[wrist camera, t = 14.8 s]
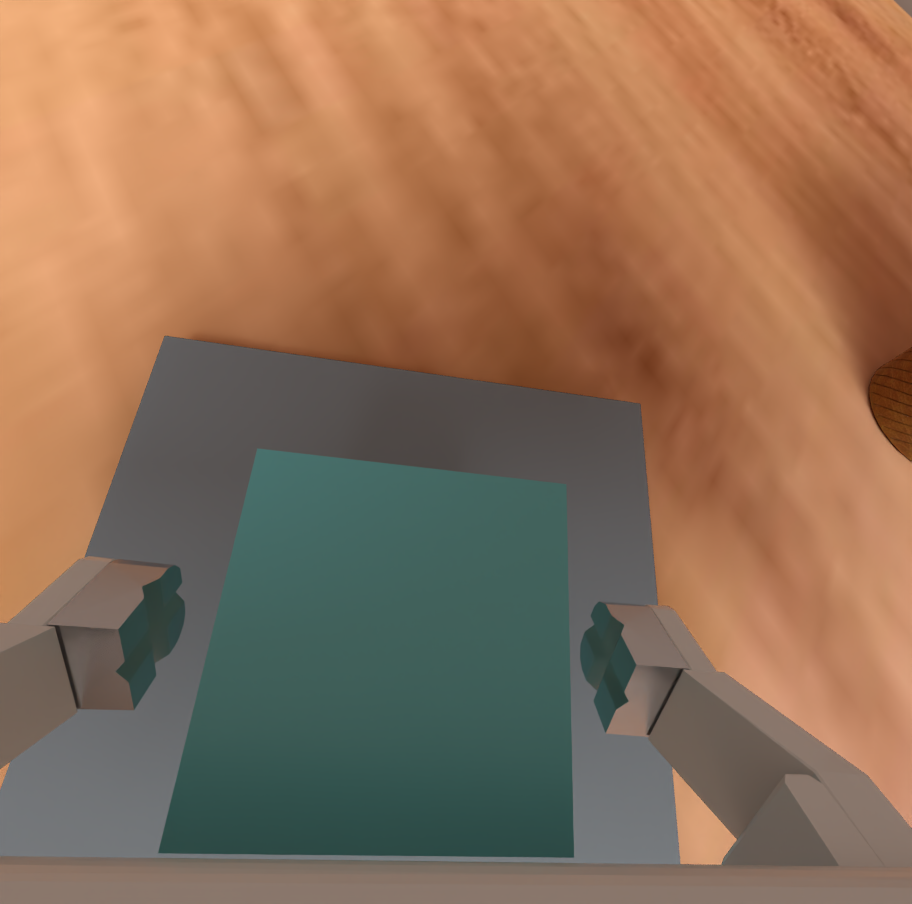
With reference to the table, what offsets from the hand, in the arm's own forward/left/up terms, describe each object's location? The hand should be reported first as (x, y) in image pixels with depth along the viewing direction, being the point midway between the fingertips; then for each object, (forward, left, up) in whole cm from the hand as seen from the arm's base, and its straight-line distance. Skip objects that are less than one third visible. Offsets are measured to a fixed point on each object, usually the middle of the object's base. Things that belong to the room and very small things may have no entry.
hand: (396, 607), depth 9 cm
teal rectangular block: (0, 0, -5) cm, 5 cm away
